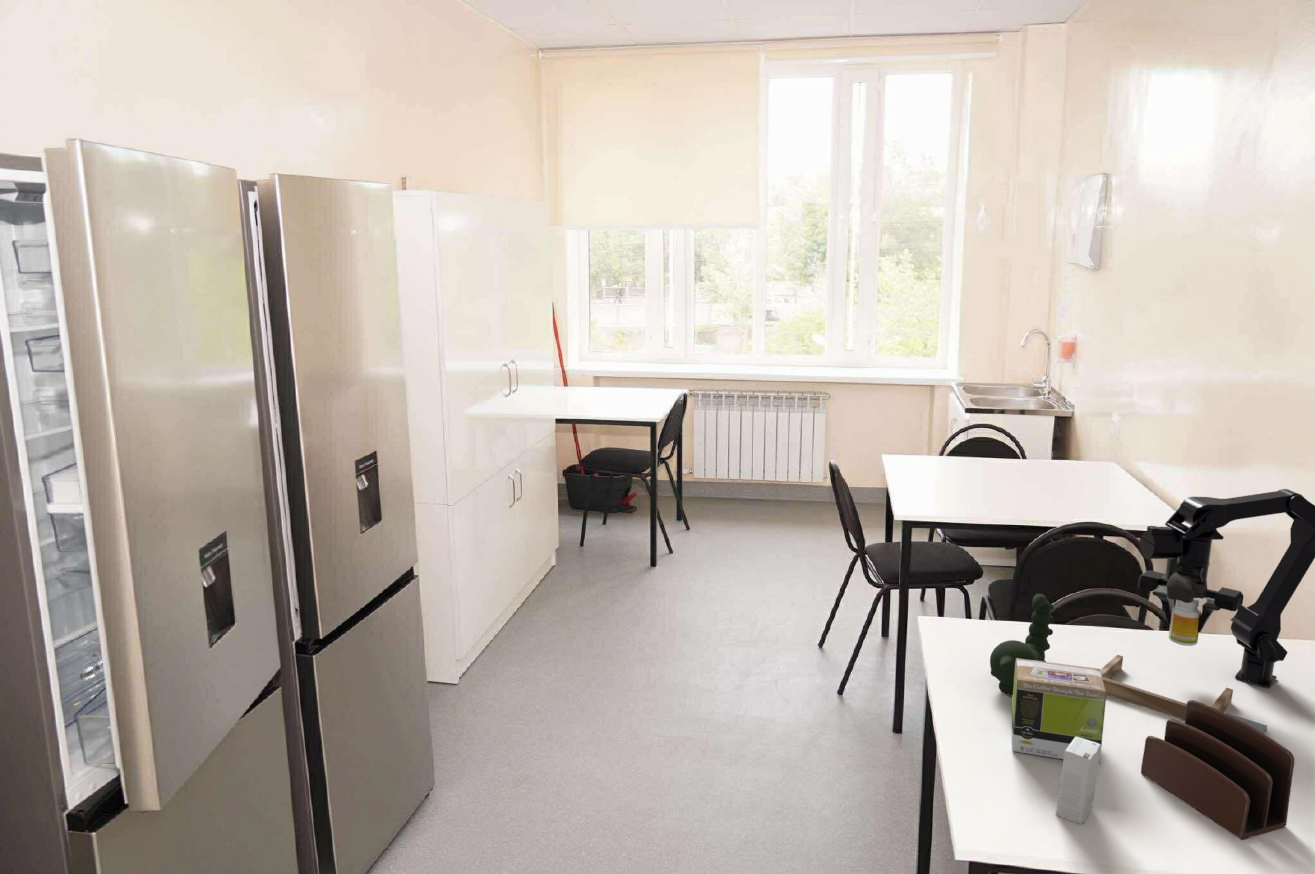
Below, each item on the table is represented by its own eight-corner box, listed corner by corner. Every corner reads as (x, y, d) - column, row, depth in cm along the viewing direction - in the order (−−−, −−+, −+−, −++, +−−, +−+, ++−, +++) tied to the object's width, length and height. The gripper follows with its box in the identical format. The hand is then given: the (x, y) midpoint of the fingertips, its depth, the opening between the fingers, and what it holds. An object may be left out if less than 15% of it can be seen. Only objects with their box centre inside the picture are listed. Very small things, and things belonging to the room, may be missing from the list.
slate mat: (1225, 717, 184) (1226, 712, 183) (1266, 730, 179) (1267, 725, 179) (1211, 735, 177) (1211, 731, 176) (1253, 750, 172) (1254, 745, 172)
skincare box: (1066, 798, 157) (1073, 733, 154) (1094, 809, 154) (1102, 743, 151) (1054, 815, 152) (1061, 748, 150) (1083, 826, 149) (1091, 759, 147)
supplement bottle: (1201, 647, 194) (1207, 604, 192) (1173, 645, 195) (1178, 602, 193) (1192, 636, 200) (1197, 594, 198) (1164, 634, 201) (1170, 592, 199)
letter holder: (1181, 763, 168) (1191, 692, 165) (1287, 828, 150) (1300, 749, 146) (1139, 773, 164) (1148, 701, 161) (1241, 841, 146) (1254, 761, 143)
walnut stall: (1115, 667, 205) (1117, 654, 204) (1231, 702, 189) (1233, 689, 189) (1091, 689, 195) (1092, 676, 194) (1210, 728, 179) (1212, 714, 179)
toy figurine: (1015, 664, 209) (974, 696, 190) (1025, 584, 206) (985, 608, 187) (1059, 677, 203) (1020, 711, 184) (1070, 594, 200) (1032, 620, 181)
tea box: (1093, 739, 175) (1102, 667, 172) (1099, 767, 166) (1108, 692, 163) (1008, 725, 180) (1015, 655, 177) (1010, 752, 171) (1017, 678, 168)
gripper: (1132, 556, 194) (1124, 626, 198) (1233, 579, 182) (1223, 653, 185) (1150, 544, 202) (1142, 611, 205) (1248, 565, 189) (1238, 636, 193)
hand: (1184, 627), depth 197 cm, fingers closed on supplement bottle, 5 cm apart
